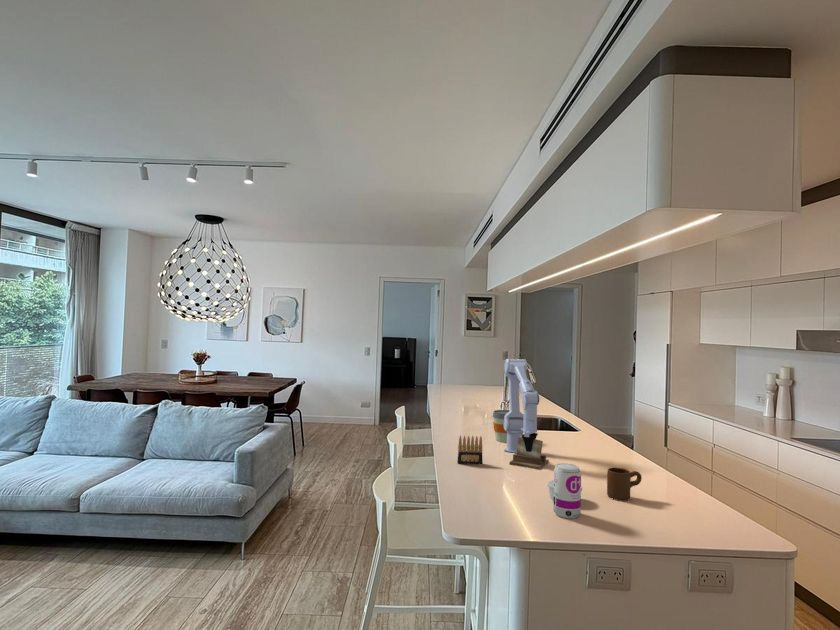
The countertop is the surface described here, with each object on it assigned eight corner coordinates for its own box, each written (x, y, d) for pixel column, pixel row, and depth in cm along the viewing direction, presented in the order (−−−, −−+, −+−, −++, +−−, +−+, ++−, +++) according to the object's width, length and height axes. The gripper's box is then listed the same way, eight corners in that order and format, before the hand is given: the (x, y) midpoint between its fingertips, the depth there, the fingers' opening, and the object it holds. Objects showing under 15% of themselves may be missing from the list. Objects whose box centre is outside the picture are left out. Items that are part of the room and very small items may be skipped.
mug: (635, 493, 174) (636, 467, 175) (646, 501, 167) (647, 473, 167) (603, 493, 174) (603, 467, 174) (612, 501, 166) (613, 473, 166)
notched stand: (520, 457, 221) (520, 449, 221) (548, 462, 214) (548, 454, 214) (509, 464, 209) (509, 456, 209) (539, 469, 202) (539, 461, 202)
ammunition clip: (482, 463, 209) (482, 435, 210) (482, 464, 208) (483, 436, 208) (457, 462, 210) (458, 434, 210) (457, 463, 208) (458, 435, 208)
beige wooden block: (517, 453, 215) (520, 435, 215) (540, 459, 211) (542, 440, 211) (516, 455, 212) (518, 437, 212) (539, 460, 208) (541, 442, 208)
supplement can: (585, 518, 150) (586, 469, 151) (562, 520, 148) (563, 470, 148) (570, 508, 158) (571, 462, 158) (548, 510, 156) (549, 463, 156)
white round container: (588, 505, 162) (588, 489, 162) (558, 507, 159) (558, 491, 159) (570, 493, 173) (570, 478, 173) (541, 495, 170) (542, 480, 170)
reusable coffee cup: (495, 437, 263) (496, 409, 263) (518, 439, 258) (519, 411, 258) (489, 441, 251) (490, 412, 251) (513, 444, 246) (514, 414, 247)
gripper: (524, 416, 220) (523, 446, 220) (517, 421, 207) (516, 453, 207) (540, 417, 217) (539, 447, 217) (534, 422, 204) (533, 455, 204)
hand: (529, 450), depth 212 cm, fingers closed on beige wooden block, 3 cm apart
